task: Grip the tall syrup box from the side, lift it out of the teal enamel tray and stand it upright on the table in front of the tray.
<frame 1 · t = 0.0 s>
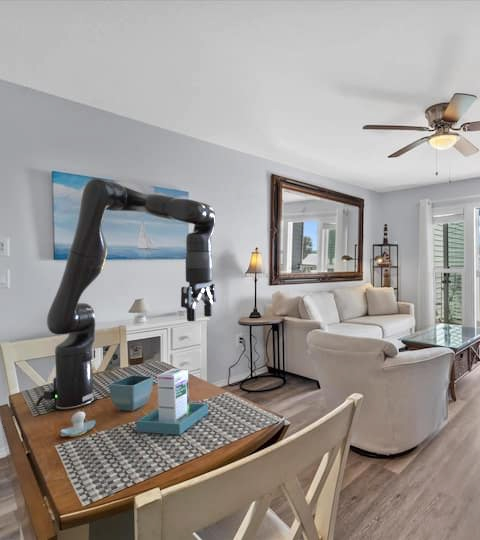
hand: (200, 318, 103), 29 cm above the table, tool pointing down, fingers open, 8 cm apart
syrup box: (174, 421, 98), resting on tray
flower pot: (132, 408, 107), on the table
tray: (174, 421, 98), on the table
pacifier: (77, 433, 91), on the table
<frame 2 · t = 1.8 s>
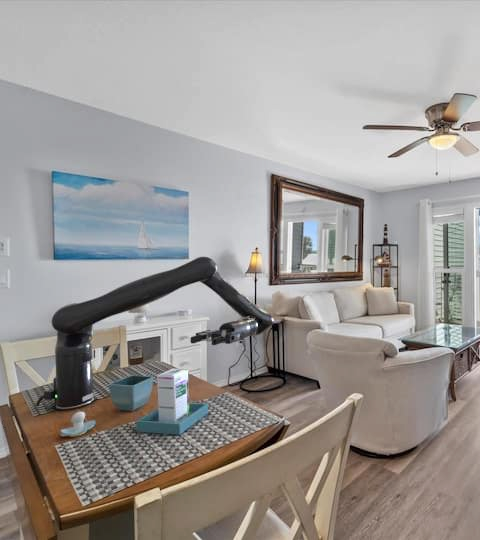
hand: (201, 341, 108), 21 cm above the table, tool horizontal, fingers open, 8 cm apart
nothing on the table moved.
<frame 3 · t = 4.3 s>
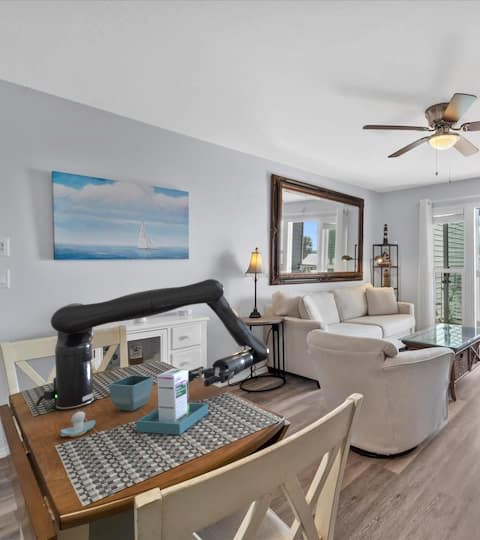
hand: (194, 382, 105), 9 cm above the table, tool horizontal, fingers open, 8 cm apart
nothing on the table moved.
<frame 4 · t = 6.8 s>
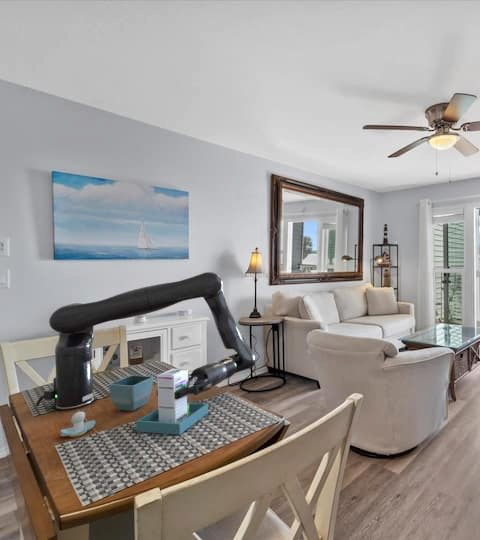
hand: (166, 394, 95), 9 cm above the table, tool horizontal, fingers closed on syrup box, 6 cm apart
syrup box: (174, 421, 98), resting on tray, touching gripper
everything else where it was.
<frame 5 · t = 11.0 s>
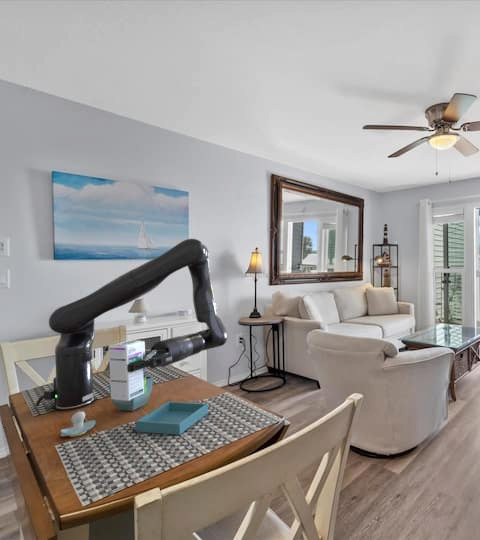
hand: (119, 367, 86), 20 cm above the table, tool horizontal, fingers closed on syrup box, 6 cm apart
syrup box: (128, 396, 89), point 11 cm above the table, touching gripper
everything else where it was.
when the fingers open (9 cm above the table, at t = 15.3 s): syrup box stays where it is, on the table.
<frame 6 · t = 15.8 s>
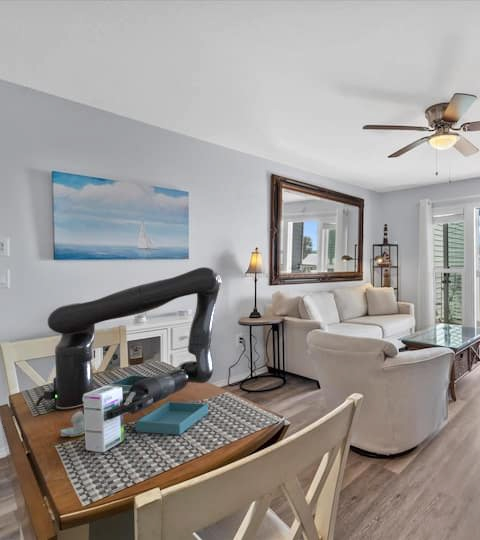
hand: (95, 413, 83), 9 cm above the table, tool horizontal, fingers open, 8 cm apart
syrup box: (105, 446, 85), on the table
everything else where it was.
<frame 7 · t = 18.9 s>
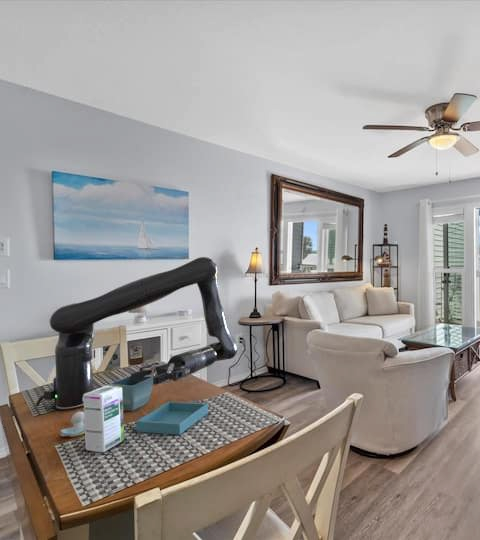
hand: (142, 379, 95), 13 cm above the table, tool horizontal, fingers open, 8 cm apart
nothing on the table moved.
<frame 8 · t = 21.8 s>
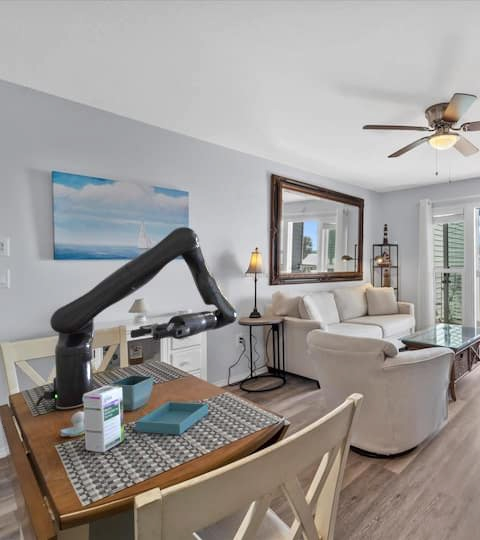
hand: (142, 335, 95), 26 cm above the table, tool horizontal, fingers open, 8 cm apart
nothing on the table moved.
at the end: syrup box inside the target area (0.1 cm from its centre), on the table; syrup box tilted 0°; syrup box touching table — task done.
